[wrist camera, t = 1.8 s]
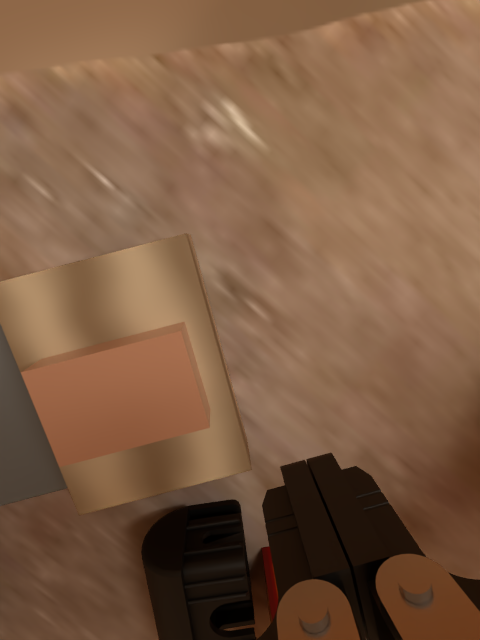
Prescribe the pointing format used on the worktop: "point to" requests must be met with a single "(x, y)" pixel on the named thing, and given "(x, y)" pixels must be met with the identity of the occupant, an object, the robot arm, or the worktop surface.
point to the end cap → (199, 573)
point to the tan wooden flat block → (121, 321)
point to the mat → (22, 438)
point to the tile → (119, 394)
